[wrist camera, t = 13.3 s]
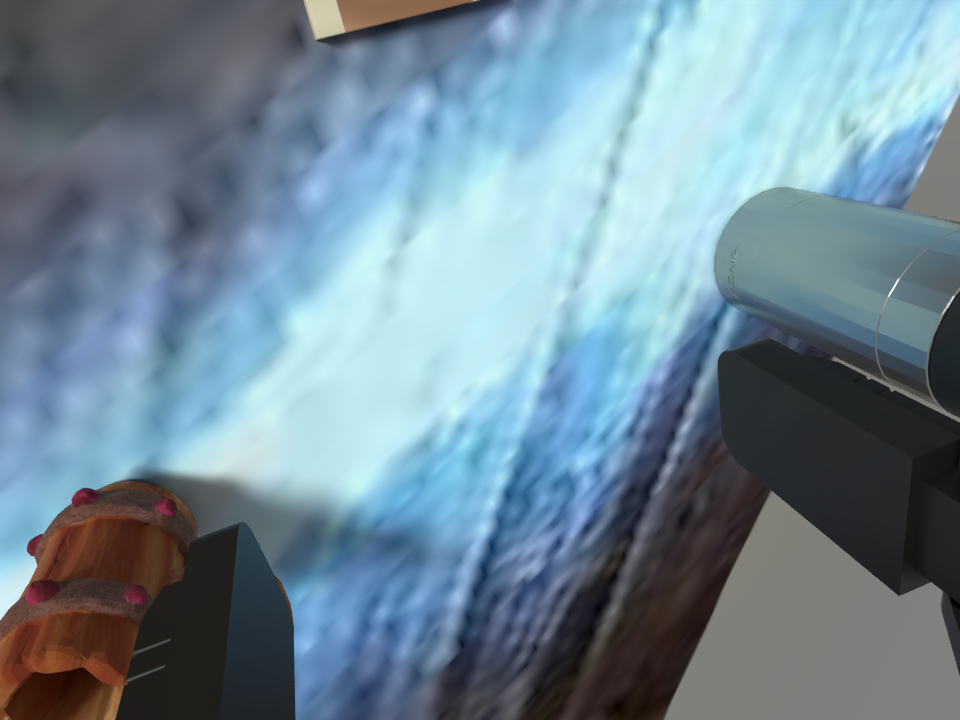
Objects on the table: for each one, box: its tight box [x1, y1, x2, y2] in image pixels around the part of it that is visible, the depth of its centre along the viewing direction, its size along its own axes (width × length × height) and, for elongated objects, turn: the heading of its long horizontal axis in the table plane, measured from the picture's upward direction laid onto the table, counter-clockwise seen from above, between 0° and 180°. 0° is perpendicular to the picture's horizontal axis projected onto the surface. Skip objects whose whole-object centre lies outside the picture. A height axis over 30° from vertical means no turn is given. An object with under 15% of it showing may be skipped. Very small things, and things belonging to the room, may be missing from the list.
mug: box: [0, 481, 294, 720], centre depth 35 cm, size 15×8×15 cm, turn 74°
